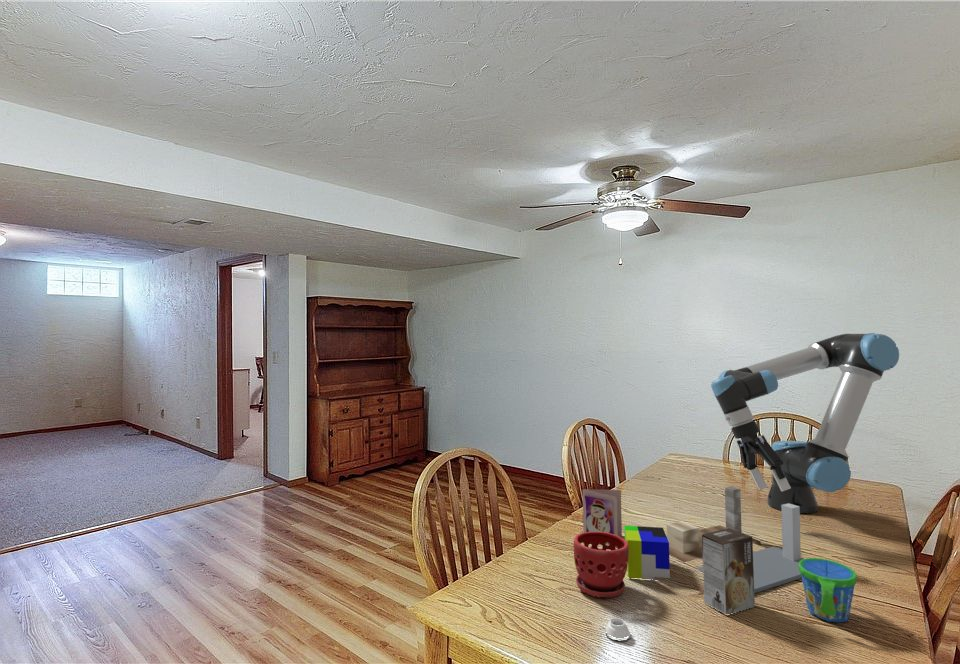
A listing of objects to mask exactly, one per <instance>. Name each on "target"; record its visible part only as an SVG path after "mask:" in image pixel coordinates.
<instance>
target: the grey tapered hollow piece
mask: <svg viewBox="0 0 960 664" xmlns="http://www.w3.org/2000/svg"><path fill="white" fill-rule="evenodd" d="M617 625H620V626H617ZM605 629H606V632H607V633H608V634H609V635H611V636H613V637H616V638H624V637H627V636H629V634H630V635H631V632H630V630H629V628H628V626H627V624H626V622H625V620H623V619H622V618H619V617H613V618H610V620H609V622H608V623H607V625H606V627H605Z"/></svg>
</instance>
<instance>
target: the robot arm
mask: <svg viewBox="0 0 960 664" xmlns="http://www.w3.org/2000/svg"><path fill="white" fill-rule="evenodd" d="M899 359H900V350H899V347H898V346H897V344H896V341H894V340H893V339H892V338H891V337H889V336H888V335H886V334H882V333H875V332H871V333H870V332H869V333H842V334H839V335H834V336H832V337H827V338H825V339H822V340H820V341H819V340H818V341H817V342H814V343H813V342H812V343H810V344H809V345H808V346H807V347H806V348H803V349H800V350H796V351H793V352H791V353H787V354H784V355H781V356H777V357H773V358H771V359H768V360H765V361H761V362H758V363H755V364H751V365H748V366H745V367H742V368H738V369H735V370H734V369H729V370H728V369H727V370H724V371H722V372H721V373H720V374H719V376H718V379H715V380H714V381H712V382H711V383H710V387H711V389H712V393H713V396H714V397H715V398H716V400H717V403H718V405H719V407H720V409H721V410H722V413H723V415H724V419H725V421H726V422H727V424H728V425H729V426H730V427H731V429H730V431H731V432H732V434H733V436H734V439H737V440H736V443H737V446H738V448H739V453H740V457H741V461H742V464H743V468H744V469H747V470H748V471H749V473H750V475H751V477H752V479H753V481H754V483H755V485H756V487H757V489H758V491H762V490H765V489H767V488H768V485H767V483H766V481H765V479H764V477H763V474H762V473H761V470H760V468H759V466H758V464H757V459H756V455H759V457H761V458H762V459H763V461H764V462H766V464H767V465H768V466H769V467H770V468H769V470H770V471H771V473H772V484H771V486H770V488H769V492H768V495H767V504H768V506H769V507H771V508H773V509H775V510H778V511H782V508H781V505H784V504H788V503H789V504H793V505H796V506H799V507H800V514H802V513H807V514H814V513H817V512H818V510H819V507H818V505H819V504H818V501H817V498H816V496H815V493H814V490H813V489H815V490H817V491H822V492H825V493H834V492H837V491H840V490H842V489H843V488H845V487H846V486H847V485H848V483H849V481H850V479H851V476H852V472H851V469H850V464H848V463H847V462H848V461H849V457H850V456H849V455H848V453H847V451H846V449H847V447H848V445H849V441H850V440H851V437H852V435H853V432H854V430H855V427H856V426H857V422H858V420H859V418H860V415H861V412H862V410H863V408H864V405H865V402H866V400H867V398H868V395H869V393H870V392H871V391H870V390H871V388H872V385H873V384H874V382H877V381H880V380H882V376H883V375H884V372H885V371H889V370H891V369H894V367H896V366H897V364H898V362H899ZM837 367H838V368H839V369H840V372H841V375H840V376H839V377H840V378H839V380H838V381H837V384H836V387H835V389H834V392H833V394H832V397H831V399H830V401H829V404H828V405H827V409H826V411H825V414H824V416H823V418H822V421H821V423H820V426H819V428H818V431H817V433H816V435H815V438H814V439H813V438H812V439H810V440H808V441H800V440H778V441H777V440H776V441H774V442H773V443H772V445H770V443H769V442H768V441H767V439H766V437H765V436H764V435H763V434H762V435H759V436H758V434H757V433H759V432H760V428H759V426H758V424H757V422H756V421H755V420H753V419H754V415H753V414H752V412H751V410H750V408H749V405H748V404H747V402H749V401H752V400H755V399H757V398H760V397H763V396H766V395H769V394H771V393H774V392H775V391H777V390H778V389H779V382H778V381H779V380H782V379H786V378H789V377H792V376H795V375H796V376H797V375H799V374H802V373H805V372H809V371H812V370H815V369H818V370H826V369H828V368H837ZM816 511H817V512H816Z"/></svg>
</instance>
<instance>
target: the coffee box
mask: <svg viewBox="0 0 960 664" xmlns="http://www.w3.org/2000/svg"><path fill="white" fill-rule="evenodd" d="M752 538H753V536H751V535H749V534H747V533H743V532H742V533H741V532H739V531H736V530H733V529H730V528H727V529H723V530H719V531H715V532H710V533H706V534H702V551H703V557H702V566H703V572H702V573H703V574H702V575H703V601H704V602H705V603H707V604H708V605H710V606H712V607H713V608H716V609H717V610H719V611H721V612H722V613H724V614H731V613H735V612H738V613H740V612H739V611H741V612H743V611H742V610H744V611H747V610H749V608H750V609H752V608H756V604H755V603H756V602H755V593H754V570H753V552H754V549H753V548H754V547H753V544H754V543H752ZM704 602H703V603H704ZM705 603H704V604H705ZM708 605H707V606H708ZM713 608H712V609H713ZM746 609H747V610H746ZM735 614H736V613H735Z"/></svg>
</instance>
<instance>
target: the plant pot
mask: <svg viewBox="0 0 960 664" xmlns="http://www.w3.org/2000/svg"><path fill="white" fill-rule="evenodd" d="M607 543H608V545H607ZM589 545H591V546H589ZM599 545H601V548H599V547H598V546H599ZM616 548H617V549H616ZM628 556H629V545H628V542H627V541H626V540H625V538H623V537H622V536H617V535H614V534H610V533H605V532H584V533H583V532H580V533H578V534H576V535H575V536H574V539H573V560H574V564H575V565H574V566H575V568H576V572H577V574H578V575H577V576H576V577H575V579H576V580H575V582H576V584H577V587H578V588H579V589H580V591H582V592H583V591H584V592H583V593H585V592H586V593H585V594H587V593H588V594H587V595H589V594H590V595H593V596H592V597H595V596H597V597H596V598H600V597H610V598H613V596H615V597H617V596H619V595H620V594H622V593H623V591H624V590H625V587H626V586H625V585H626V584H625V581H624V579H625V577H626V574H627V565H628ZM590 595H589V596H590Z"/></svg>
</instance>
